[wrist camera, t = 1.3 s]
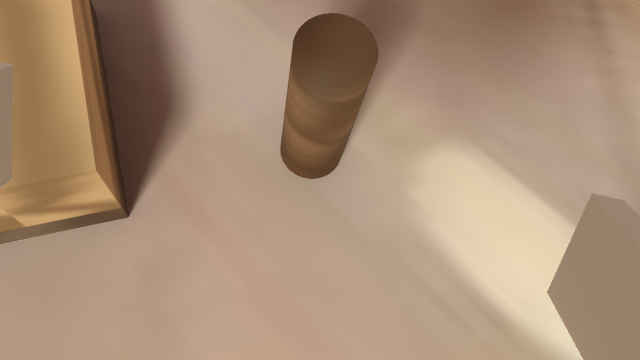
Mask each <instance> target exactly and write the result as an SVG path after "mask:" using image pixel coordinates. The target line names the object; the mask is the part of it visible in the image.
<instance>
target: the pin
mask: <svg viewBox="0 0 640 360" xmlns="http://www.w3.org/2000/svg"><path fill="white" fill-rule="evenodd" d="M377 59H378V48H377V44H376V41H375V39H374V37H373V35H372V33H371V32H370V31H369V30H368V29H367V28H366V26H364V25H363V24H362V23H361V22H359V21H358V20H356V19H354V18H352V17H349V16H346V15H342V14H334V13H329V14H322V15H318V16H315V17H313V18H311V19H309V20H308V21H306V22H305V23H304V24H303V25H302V26H301V27H300V28H299V30H298V31H297V33H296V35H295V37H294V41H293V48H292V56H291V65H290V73H289V81H288V90H287V98H286V106H285V114H284V123H283V131H282V139H281V148H280V149H281V157H282V160H283V162H284V163H285V165H286V166H287V167H288V169H289V170H290V171H292V172H293V173H294V174H296V175H298V176H301V177H304V178H310V179H315V178H320V177H324V176H326V175H328V174H329V173H331V172H332V171H333V170H334V169H335V168H336V167H337V165H338V163H339V161H340V158H341V156H342V153H343V150H344V148H345V145H346V142H347V140H348V137H349V135H350V132H351V129H352V127H353V124H354V121H355V119H356V116H357V113H358V111H359V108H360V105H361V103H362V100H363V98H364V95H365V92H366V90H367V87H368V84H369V82H370V79H371V76H372V74H373V71H374V68H375V66H376V63H377Z"/></svg>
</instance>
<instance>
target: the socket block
mask: <svg viewBox="0 0 640 360" xmlns="http://www.w3.org/2000/svg"><path fill="white" fill-rule="evenodd" d="M0 62H2V63H7V64H11V65H13V118H12V179H11V180H10V181H8V182H7V183H6V184H5V185H3V186H2V187H1V188H0V244H2V243H6V242H11V241H16V240H21V239H26V238H31V237H35V236H40V235H45V234H50V233H55V232H60V231H64V230H69V229H74V228H79V227H84V226H89V225H93V224H98V223H103V222H108V221H113V220H118V219H122V218H127V217H128V213H127V207H126V201H125V194H124V188H123V182H122V176H121V170H120V163H119V157H118V151H117V145H116V138H115V132H114V126H113V120H112V113H111V107H110V101H109V95H108V89H107V82H106V76H105V70H104V64H103V57H102V51H101V45H100V39H99V33H98V26H97V20H96V14H95V10H94V8H93V5H92V3H91V0H0Z"/></svg>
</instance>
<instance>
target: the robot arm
mask: <svg viewBox="0 0 640 360" xmlns="http://www.w3.org/2000/svg"><path fill="white" fill-rule="evenodd" d="M12 118H13V65H11V64H7V63H2V62H0V188H1V187H2V186H3V185H5V184H6V183H7V182H8V181H10V180H11V179H12ZM547 293H548V295H549V297H550V298H551V300H552V302H553V304H554V306H555V308H556V309H557V311H558V313H559V315H560V317H561V319H562V321H563V322H564V324H565V326H566V328H567V330H568V332H569V334H570V335H571V337H572V339H573V341H574V343H575V345H576V347H577V348H578V350H579V352H580V354H581V356H582V358H583V359H584V360H640V216H639V215H638V214H637V213H636V212H635V211H634V210H633V209H632V208H631V207H630V206H629V205H628V204H627V203H626V202H625V201H624V200H620V199H615V198H611V197H606V196H602V195H597V194H593V193H592V194H591V197H590V199H589V201H588V203H587V205H586V208H585V210H584V212H583V214H582V216H581V219H580V221H579V223H578V225H577V227H576V230H575V232H574V234H573V236H572V238H571V241H570V243H569V245H568V247H567V249H566V252H565V254H564V256H563V258H562V261H561V263H560V265H559V267H558V269H557V272H556V274H555V276H554V278H553V280H552V283H551V285H550V287H549V289H548V291H547Z"/></svg>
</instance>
